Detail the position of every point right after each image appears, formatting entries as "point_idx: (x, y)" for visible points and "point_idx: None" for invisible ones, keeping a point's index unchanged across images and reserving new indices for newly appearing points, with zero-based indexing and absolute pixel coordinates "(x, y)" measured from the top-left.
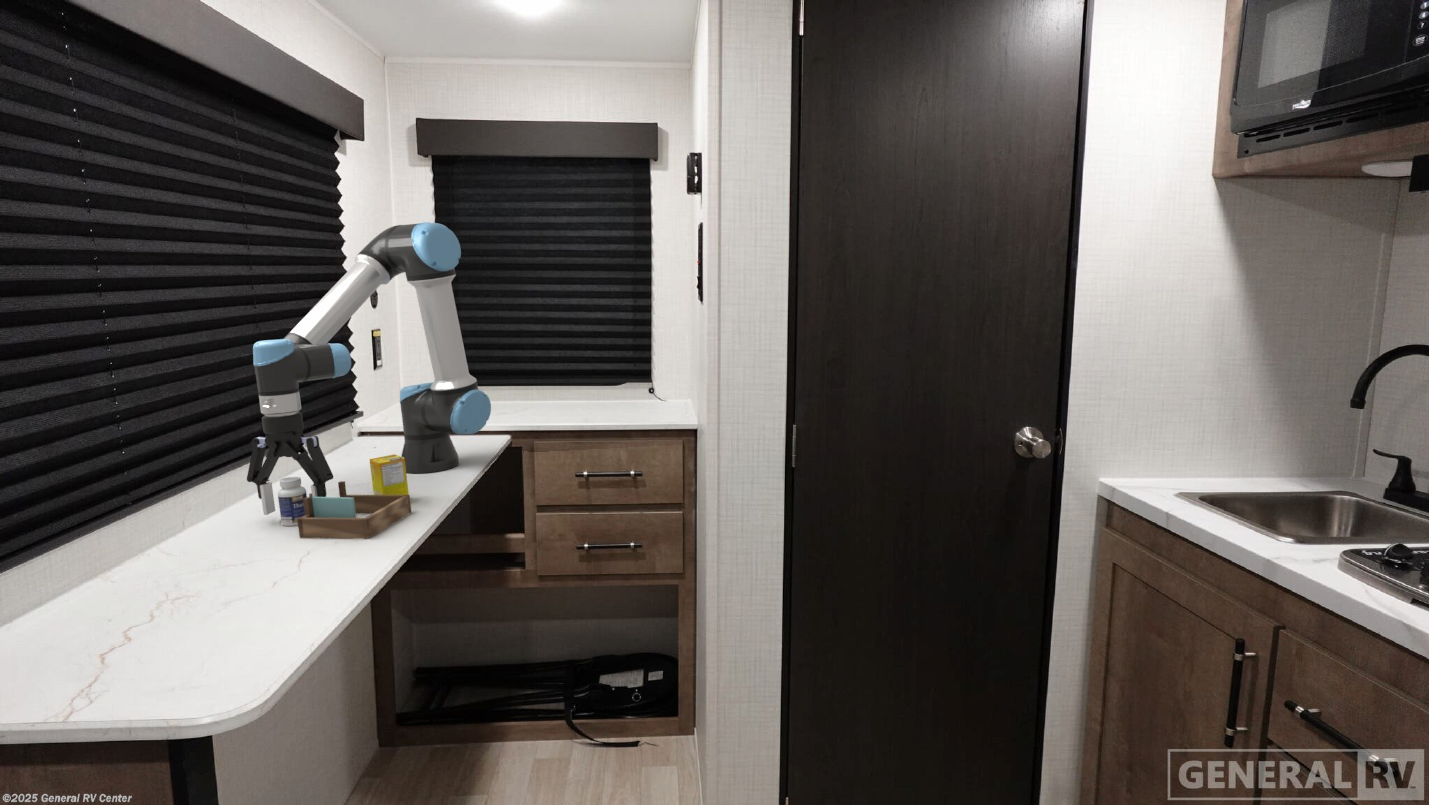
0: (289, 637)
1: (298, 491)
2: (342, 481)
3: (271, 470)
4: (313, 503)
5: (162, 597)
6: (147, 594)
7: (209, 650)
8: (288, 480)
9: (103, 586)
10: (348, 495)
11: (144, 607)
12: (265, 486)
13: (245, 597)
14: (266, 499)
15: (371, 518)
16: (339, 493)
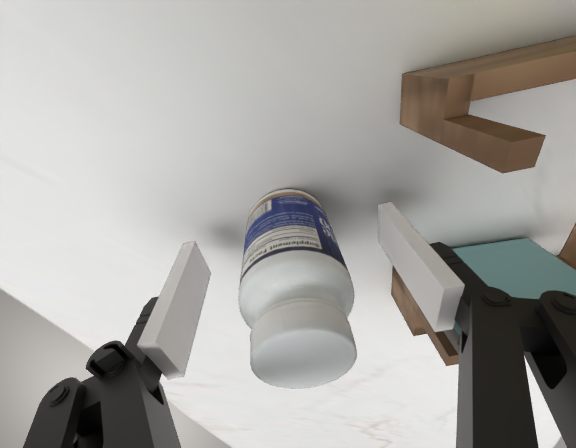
0: (542, 426)
1: (349, 313)
2: (526, 141)
3: (157, 433)
4: (455, 325)
5: (354, 428)
6: (328, 429)
7: None
8: (319, 377)
9: (250, 434)
10: (468, 91)
11: (356, 437)
12: (179, 359)
13: (453, 410)
14: (197, 310)
15: None
16: (455, 149)
